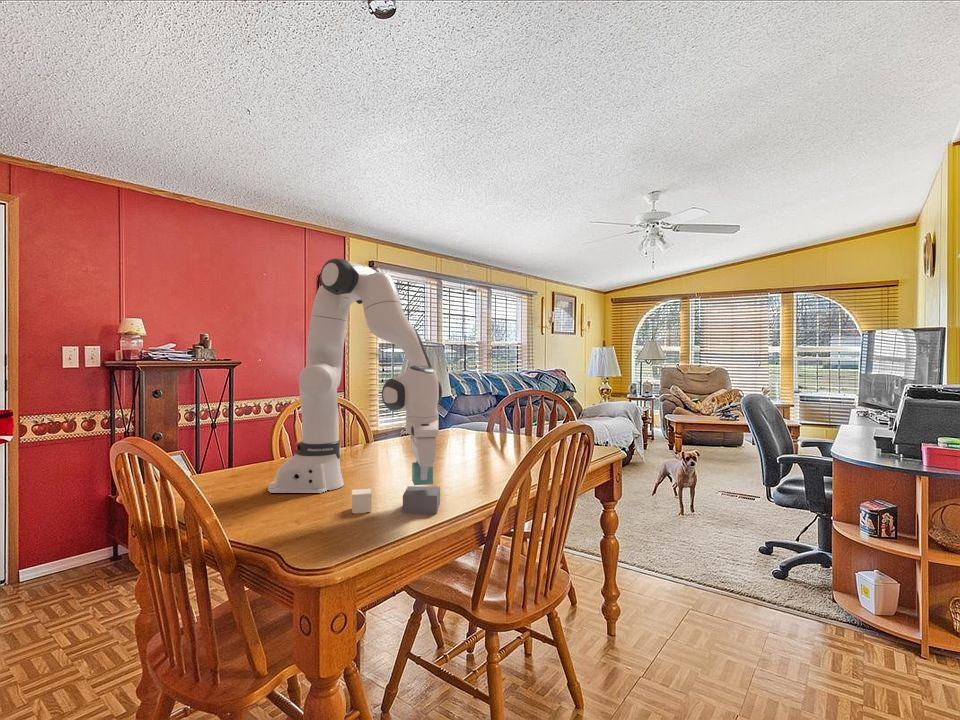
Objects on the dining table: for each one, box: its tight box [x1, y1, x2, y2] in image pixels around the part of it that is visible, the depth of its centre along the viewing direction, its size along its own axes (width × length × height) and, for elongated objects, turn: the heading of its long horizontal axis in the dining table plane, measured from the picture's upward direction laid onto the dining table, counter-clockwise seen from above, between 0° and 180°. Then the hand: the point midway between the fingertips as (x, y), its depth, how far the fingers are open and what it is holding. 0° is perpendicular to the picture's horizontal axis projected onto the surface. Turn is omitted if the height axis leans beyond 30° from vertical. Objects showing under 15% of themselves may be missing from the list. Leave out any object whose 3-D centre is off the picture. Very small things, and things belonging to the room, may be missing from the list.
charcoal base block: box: [402, 485, 441, 515], centre depth 145 cm, size 9×9×5 cm
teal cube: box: [411, 461, 434, 486], centre depth 145 cm, size 5×5×5 cm
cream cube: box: [351, 488, 372, 514], centre depth 143 cm, size 5×5×5 cm
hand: (422, 476), depth 145 cm, fingers closed on teal cube, 5 cm apart
